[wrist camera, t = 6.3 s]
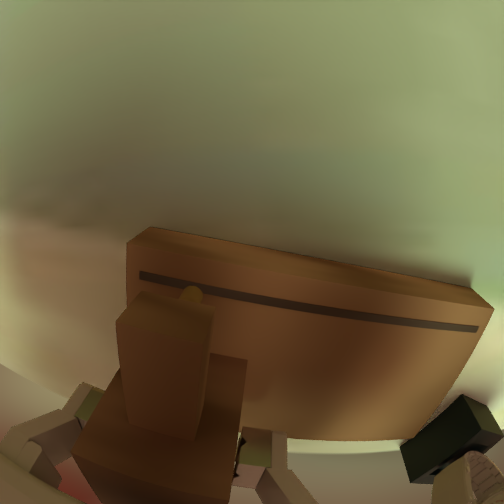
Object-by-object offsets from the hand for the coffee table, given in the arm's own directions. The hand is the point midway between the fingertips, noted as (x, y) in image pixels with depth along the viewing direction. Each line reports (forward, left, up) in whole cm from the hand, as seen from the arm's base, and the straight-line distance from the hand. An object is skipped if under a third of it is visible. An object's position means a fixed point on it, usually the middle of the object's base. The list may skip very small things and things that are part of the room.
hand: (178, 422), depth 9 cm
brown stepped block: (0, +2, -2) cm, 3 cm away
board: (+4, +2, -4) cm, 6 cm away
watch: (+16, -4, -4) cm, 18 cm away
